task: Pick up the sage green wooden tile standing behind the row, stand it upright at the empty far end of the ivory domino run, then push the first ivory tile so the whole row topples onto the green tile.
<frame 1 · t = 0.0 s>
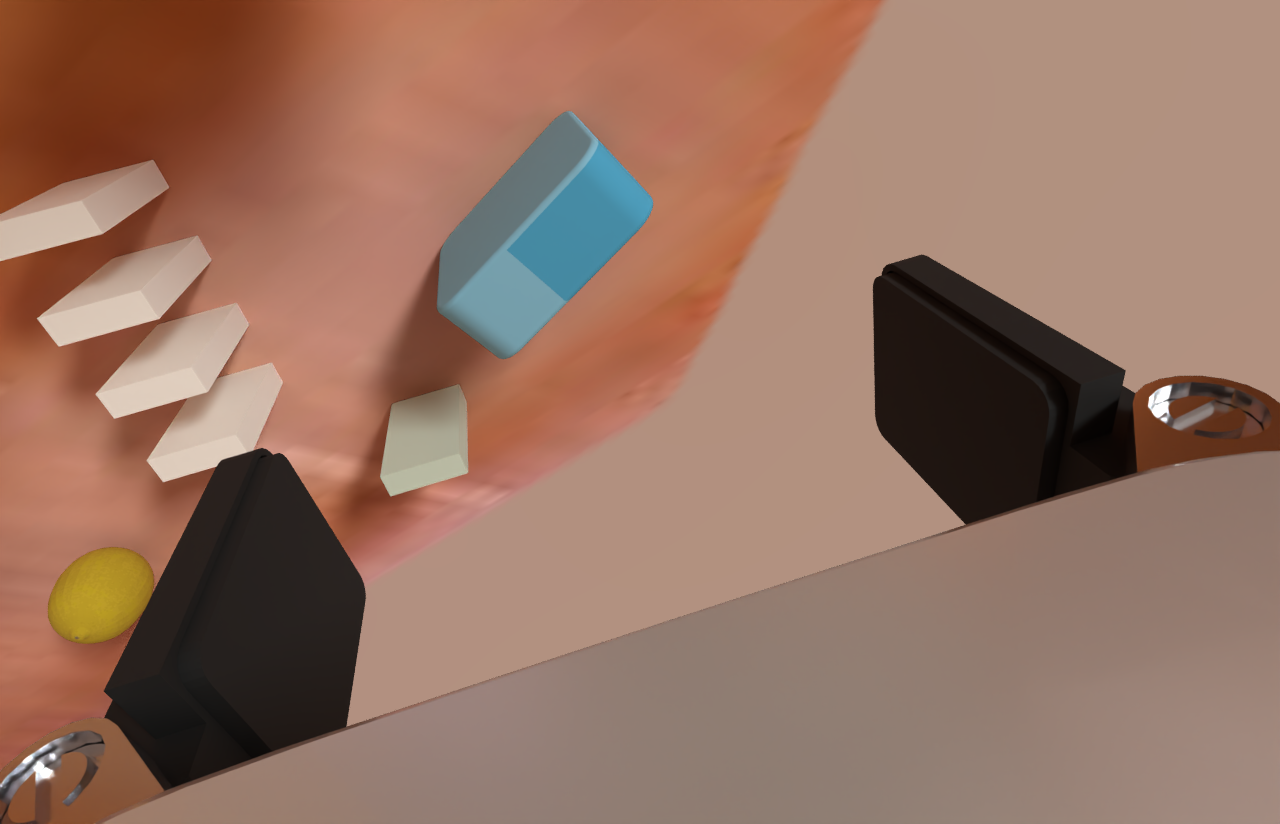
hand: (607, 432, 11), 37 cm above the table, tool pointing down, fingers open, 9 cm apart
lemon: (127, 552, 52), on the table
tile 1: (117, 185, 39), on the table
data package: (526, 201, 45), on the table
tile 3: (204, 324, 44), on the table
tile 2: (163, 259, 42), on the table
tile 4: (240, 383, 47), on the table
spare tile: (429, 402, 51), on the table
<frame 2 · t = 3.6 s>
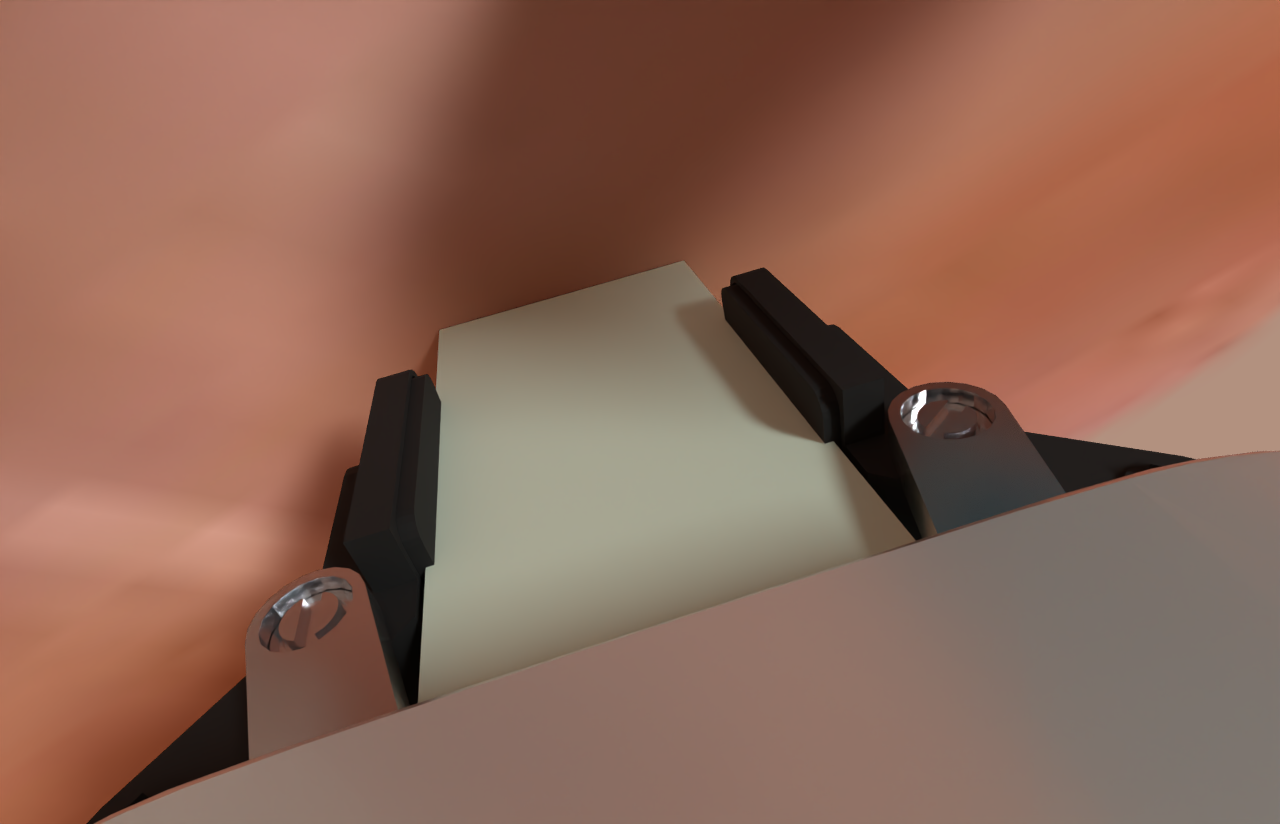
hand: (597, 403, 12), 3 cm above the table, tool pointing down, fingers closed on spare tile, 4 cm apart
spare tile: (573, 330, 14), on the table, touching gripper
when the fingers open (4 cm above the table, at t = 8.6 s): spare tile stays where it is, on the table.
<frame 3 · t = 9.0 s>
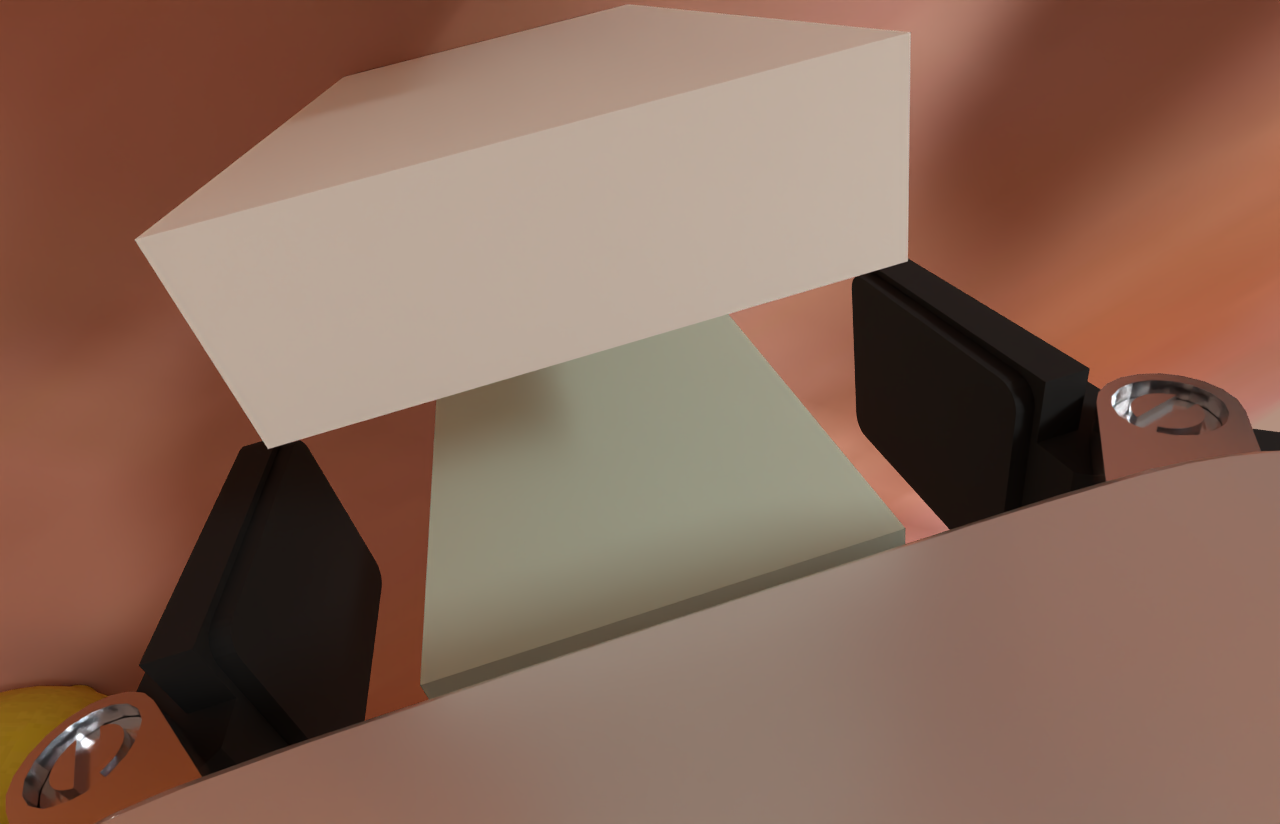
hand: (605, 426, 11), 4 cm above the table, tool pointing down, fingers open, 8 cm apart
lemon: (86, 683, 17), on the table
tile 4: (502, 89, 12), on the table
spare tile: (569, 316, 15), on the table
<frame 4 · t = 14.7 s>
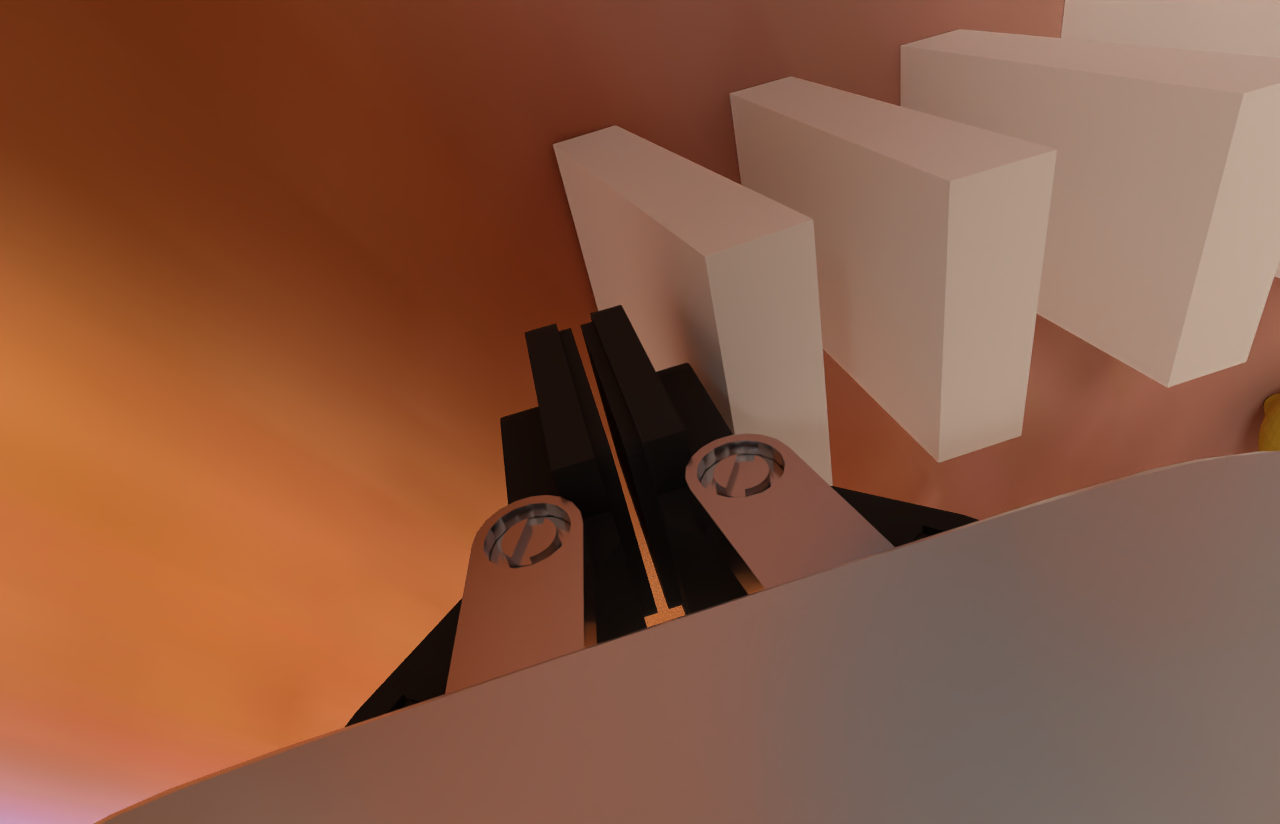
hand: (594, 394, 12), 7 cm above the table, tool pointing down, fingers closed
lemon: (1263, 397, 28), on the table
tile 1: (608, 234, 18), on the table, tilted 6°
tile 3: (928, 140, 19), on the table
tile 2: (770, 185, 18), on the table
tile 4: (1079, 95, 19), on the table
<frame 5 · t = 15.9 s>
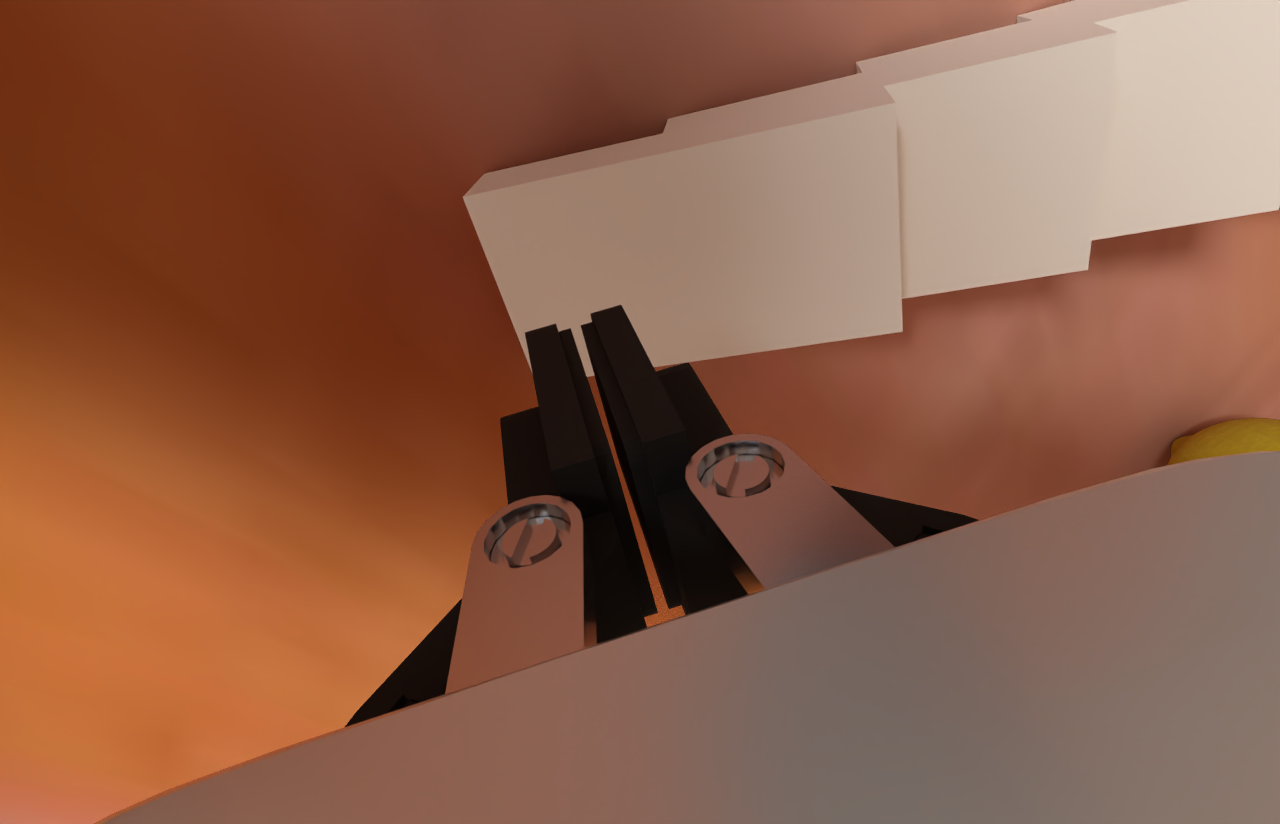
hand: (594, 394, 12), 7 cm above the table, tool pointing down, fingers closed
lemon: (1172, 439, 27), on the table
tile 1: (511, 283, 17), point 1 cm above the table, tilted 70°, touching tile 2
tile 3: (866, 173, 18), point 1 cm above the table, tilted 69°, touching tile 2, tile 4
tile 2: (687, 228, 17), point 1 cm above the table, tilted 69°, touching tile 1, tile 3
tile 4: (1024, 126, 18), point 1 cm above the table, tilted 75°, touching tile 3
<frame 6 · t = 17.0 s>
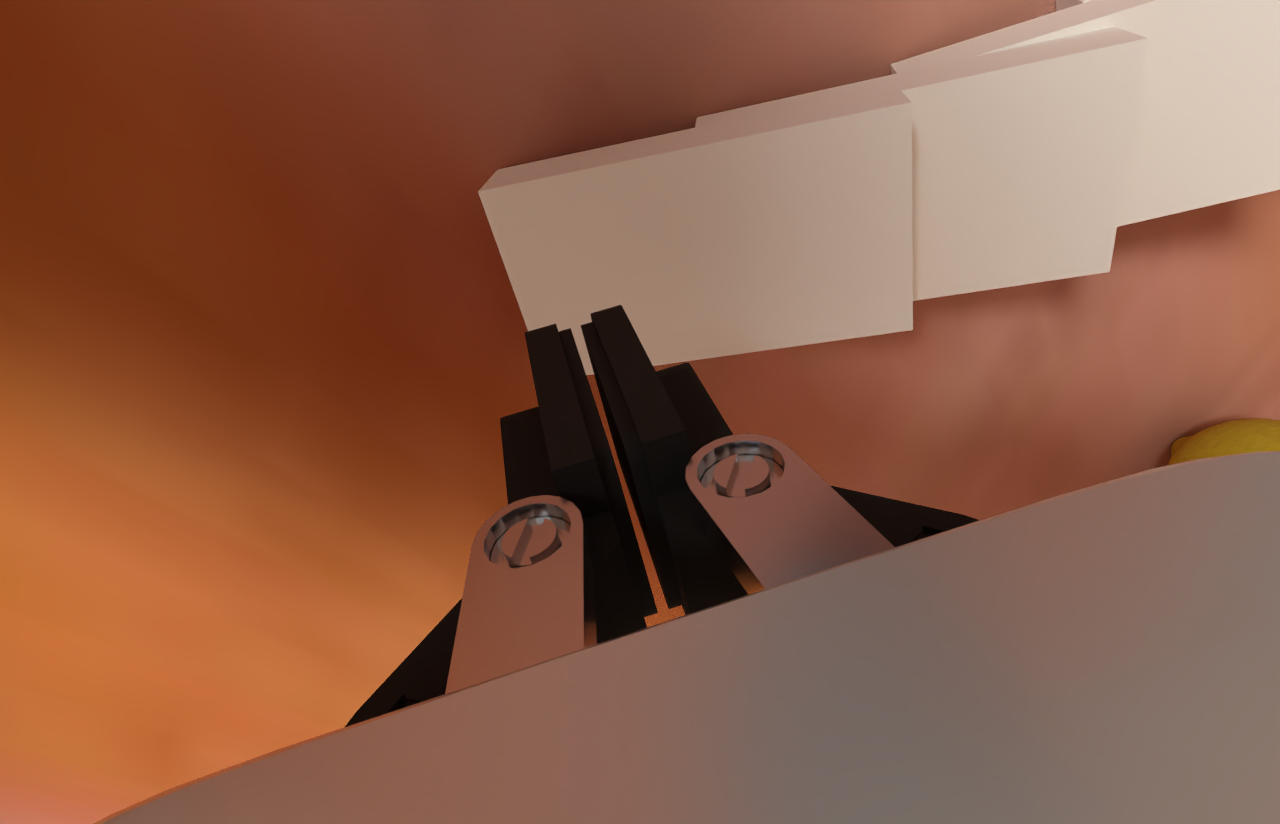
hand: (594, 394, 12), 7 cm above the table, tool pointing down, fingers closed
lemon: (1172, 440, 27), on the table
tile 1: (522, 279, 17), point 1 cm above the table, tilted 71°, touching tile 2
tile 3: (907, 172, 18), point 1 cm above the table, tilted 69°, touching tile 2, tile 4
tile 2: (713, 227, 18), point 1 cm above the table, tilted 70°, touching tile 1, tile 3
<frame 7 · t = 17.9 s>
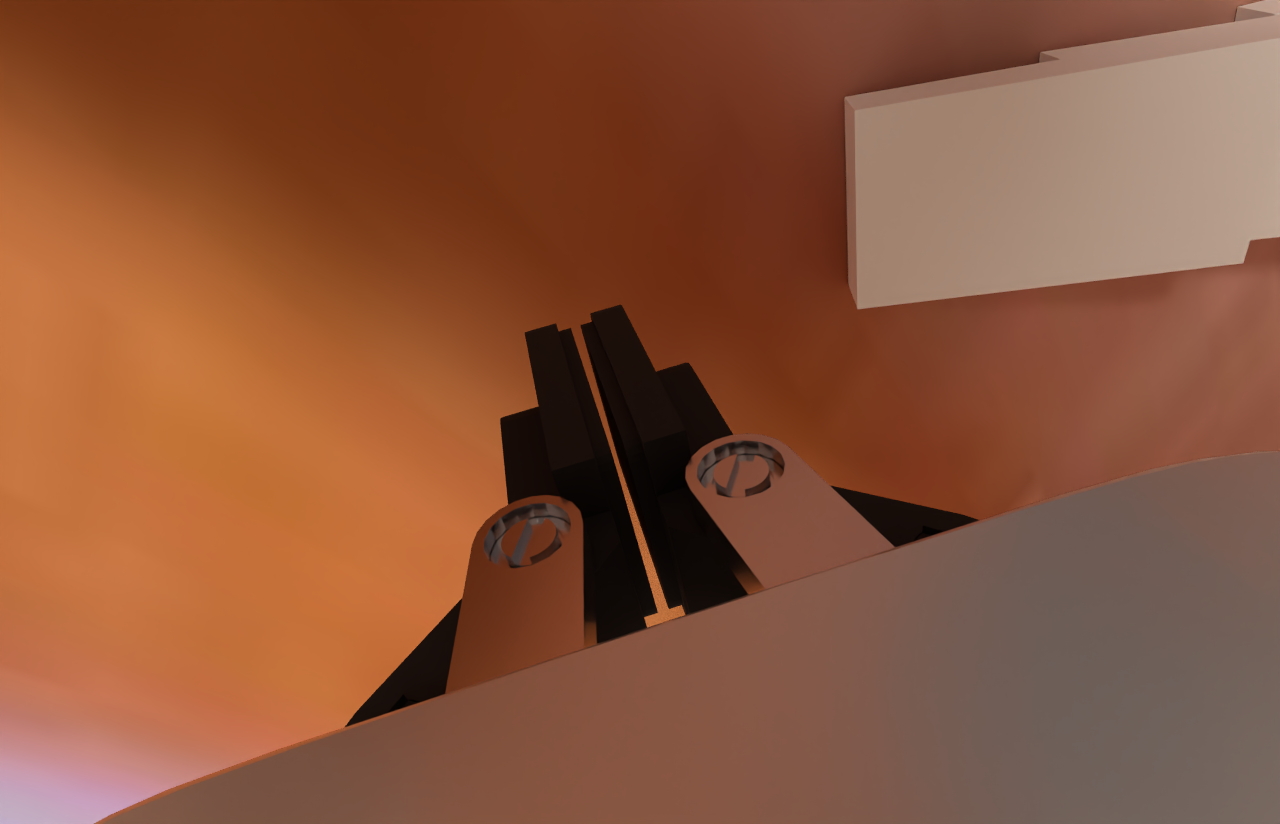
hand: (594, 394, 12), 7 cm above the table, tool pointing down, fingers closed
tile 1: (851, 207, 18), point 1 cm above the table, tilted 72°
tile 3: (1235, 113, 19), point 1 cm above the table, tilted 70°
tile 2: (1037, 161, 18), point 1 cm above the table, tilted 72°
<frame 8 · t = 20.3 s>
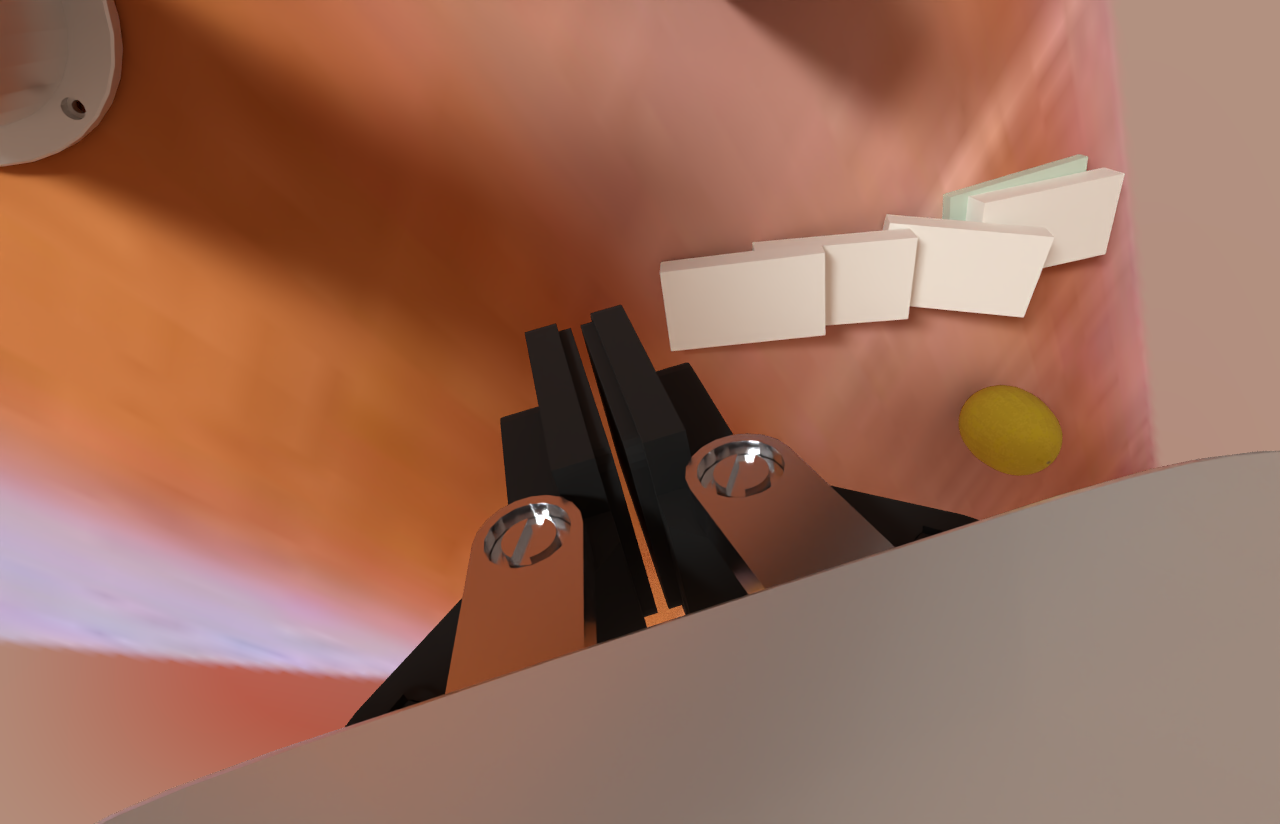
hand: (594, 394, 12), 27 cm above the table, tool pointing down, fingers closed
lemon: (970, 398, 51), on the table
tile 1: (666, 307, 41), point 1 cm above the table, tilted 74°, touching tile 2
tile 3: (878, 259, 42), point 1 cm above the table, tilted 68°, touching tile 2, tile 4
tile 2: (754, 287, 41), point 1 cm above the table, tilted 76°, touching tile 1, tile 3
tile 4: (971, 240, 42), point 1 cm above the table, tilted 89°, touching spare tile, tile 3
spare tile: (941, 233, 43), on the table, tilted 90°, touching tile 4
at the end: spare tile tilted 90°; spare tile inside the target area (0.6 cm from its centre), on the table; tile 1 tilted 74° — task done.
